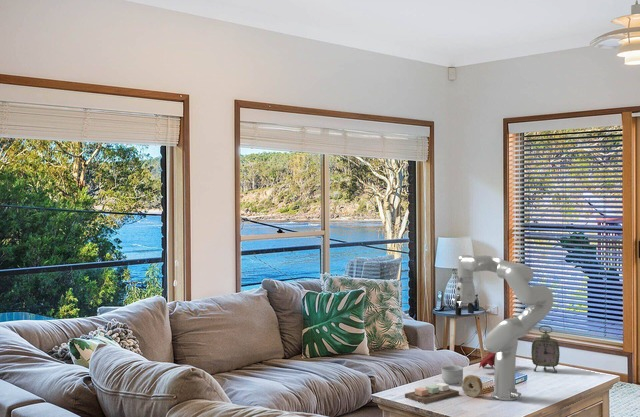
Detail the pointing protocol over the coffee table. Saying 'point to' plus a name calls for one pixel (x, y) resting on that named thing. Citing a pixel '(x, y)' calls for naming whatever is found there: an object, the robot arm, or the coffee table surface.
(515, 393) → the robot arm
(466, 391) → the bagel
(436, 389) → the tile sage
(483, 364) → the decorative bird sculpture
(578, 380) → the coffee table surface
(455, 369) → the teacup
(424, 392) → the tile terracotta
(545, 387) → the coffee table surface
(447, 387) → the tile cream
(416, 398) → the brown tile tray
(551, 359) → the tabletop clock
